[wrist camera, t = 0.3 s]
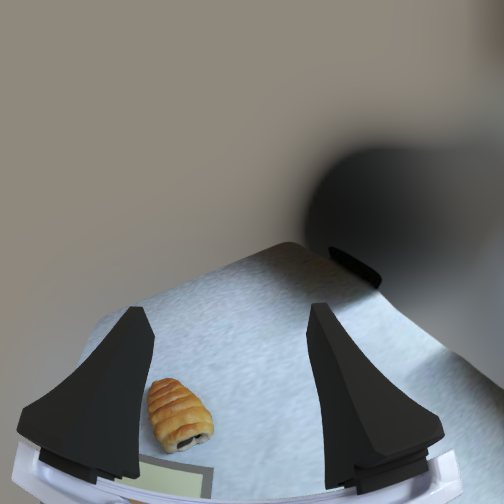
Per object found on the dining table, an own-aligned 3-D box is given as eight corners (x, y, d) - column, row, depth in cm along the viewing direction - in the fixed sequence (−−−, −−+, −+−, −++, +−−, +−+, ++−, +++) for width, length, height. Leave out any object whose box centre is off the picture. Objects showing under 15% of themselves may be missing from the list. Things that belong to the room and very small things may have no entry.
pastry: (141, 395, 28) (127, 382, 26) (187, 373, 31) (177, 359, 28) (171, 459, 21) (157, 453, 19) (224, 434, 24) (216, 425, 22)
